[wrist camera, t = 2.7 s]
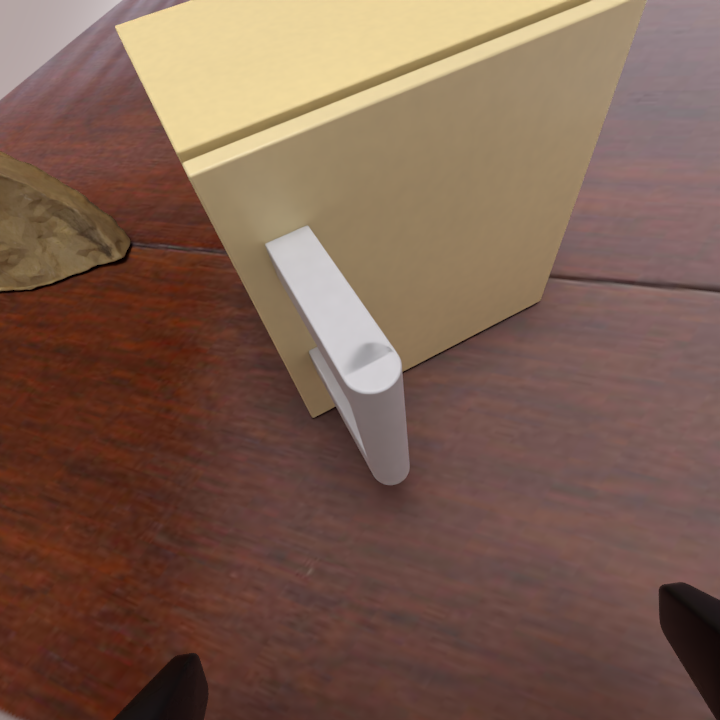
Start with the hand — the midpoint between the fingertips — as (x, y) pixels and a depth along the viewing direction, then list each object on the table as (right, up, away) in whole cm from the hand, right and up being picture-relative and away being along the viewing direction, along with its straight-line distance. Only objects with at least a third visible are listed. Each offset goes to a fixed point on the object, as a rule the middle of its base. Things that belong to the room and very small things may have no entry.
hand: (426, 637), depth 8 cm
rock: (-25, +13, +26) cm, 38 cm away
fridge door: (+4, +3, +16) cm, 17 cm away
